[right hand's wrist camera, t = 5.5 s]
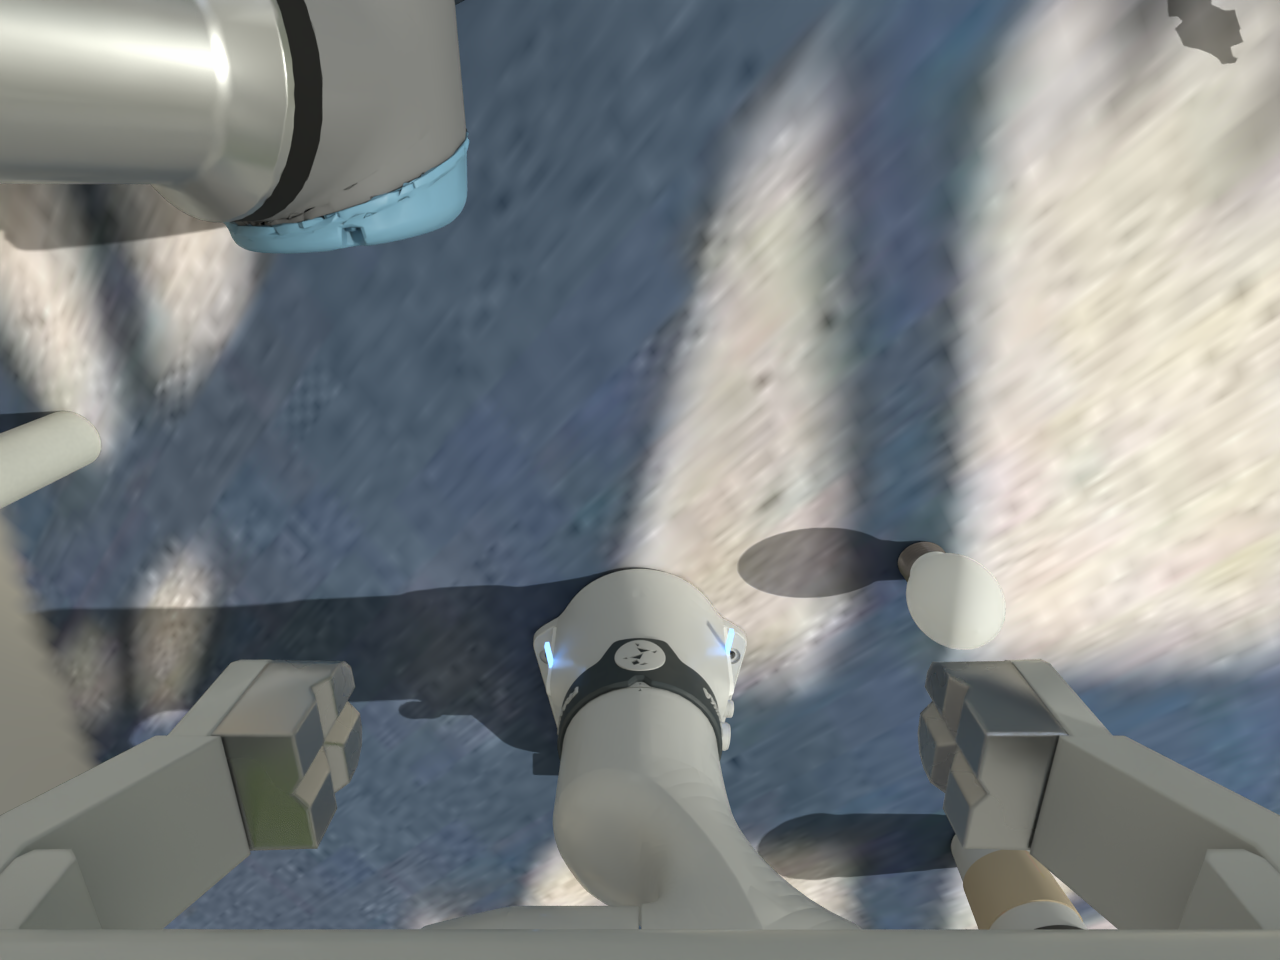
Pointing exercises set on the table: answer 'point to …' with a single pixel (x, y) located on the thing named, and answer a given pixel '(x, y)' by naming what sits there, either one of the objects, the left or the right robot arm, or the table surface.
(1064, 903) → the coffee cup
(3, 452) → the jar
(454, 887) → the table surface
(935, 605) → the light bulb
